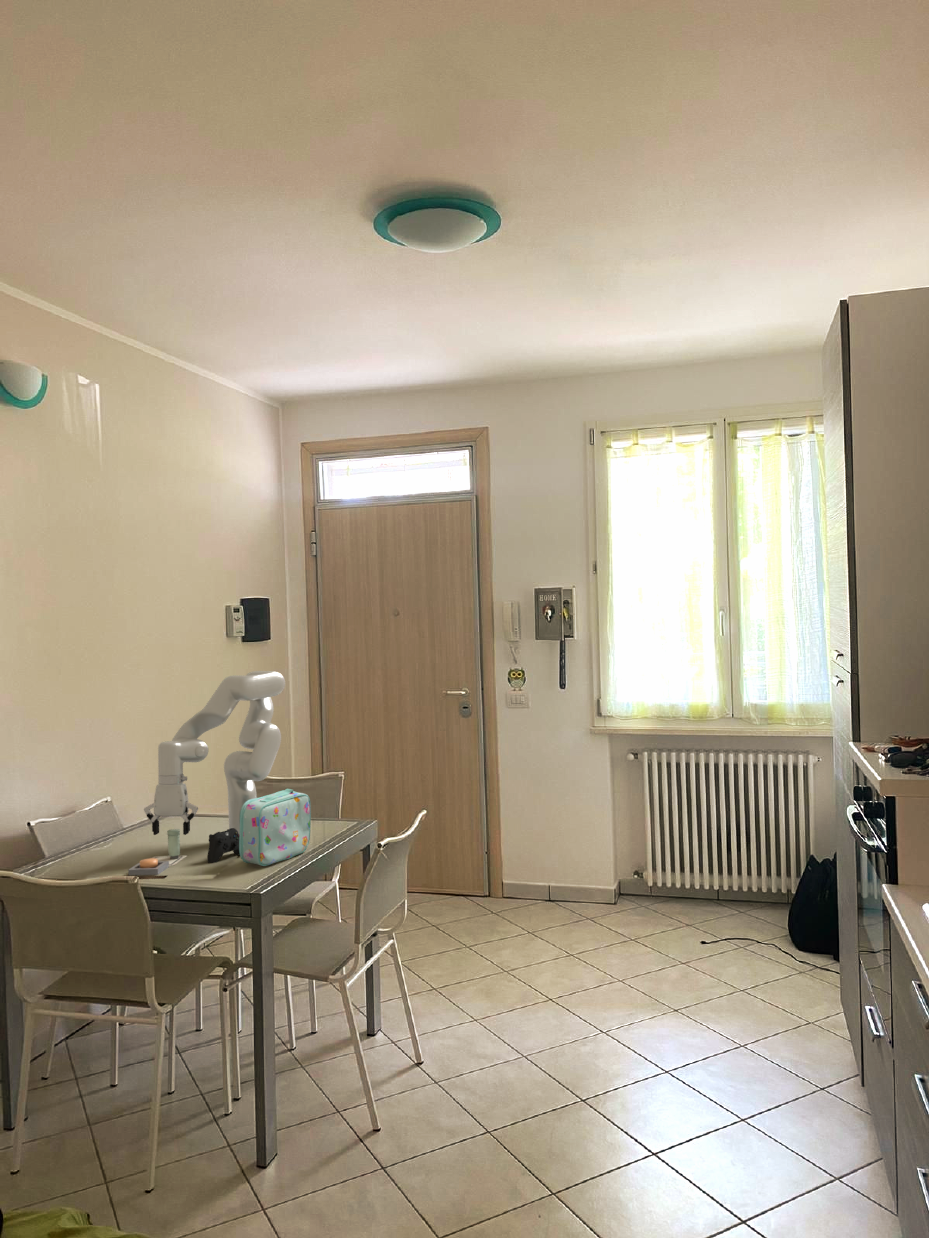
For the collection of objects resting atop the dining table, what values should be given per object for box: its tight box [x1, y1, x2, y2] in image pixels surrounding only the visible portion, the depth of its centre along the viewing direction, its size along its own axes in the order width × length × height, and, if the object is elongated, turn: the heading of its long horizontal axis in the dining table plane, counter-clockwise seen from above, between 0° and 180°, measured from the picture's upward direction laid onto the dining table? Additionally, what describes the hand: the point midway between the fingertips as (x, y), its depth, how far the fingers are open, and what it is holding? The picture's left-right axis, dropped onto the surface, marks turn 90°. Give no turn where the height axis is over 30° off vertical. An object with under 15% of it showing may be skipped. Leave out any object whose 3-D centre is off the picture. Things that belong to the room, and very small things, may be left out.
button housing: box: [127, 861, 170, 876], centre depth 285 cm, size 9×9×2 cm
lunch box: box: [239, 788, 312, 867], centre depth 299 cm, size 27×10×21 cm, turn 152°
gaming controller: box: [206, 828, 240, 864], centre depth 298 cm, size 14×6×10 cm, turn 148°
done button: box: [139, 857, 158, 868], centre depth 285 cm, size 5×5×2 cm
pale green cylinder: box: [166, 828, 181, 859], centre depth 299 cm, size 4×4×9 cm
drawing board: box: [137, 854, 188, 880], centre depth 292 cm, size 13×24×1 cm, turn 177°
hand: (171, 833), depth 299 cm, fingers open, 9 cm apart
